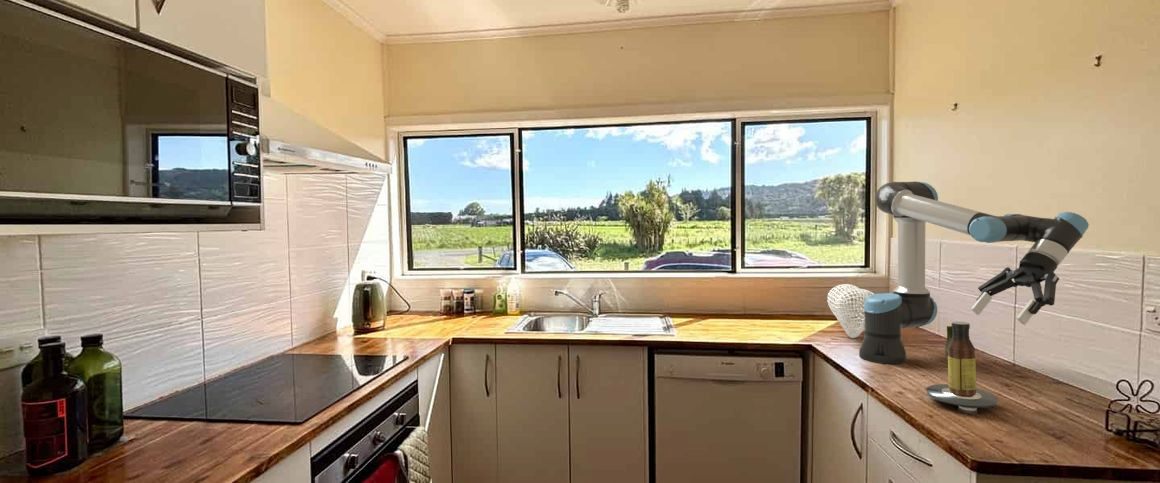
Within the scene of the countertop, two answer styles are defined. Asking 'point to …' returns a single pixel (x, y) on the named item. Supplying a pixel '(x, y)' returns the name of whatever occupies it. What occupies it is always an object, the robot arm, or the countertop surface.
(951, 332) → the fennel bulb
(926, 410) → the countertop surface
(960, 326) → the sauce bottle
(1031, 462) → the countertop surface
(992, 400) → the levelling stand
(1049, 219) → the robot arm
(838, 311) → the heart
